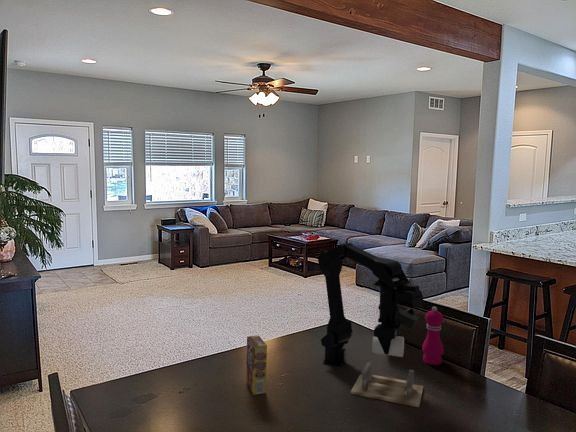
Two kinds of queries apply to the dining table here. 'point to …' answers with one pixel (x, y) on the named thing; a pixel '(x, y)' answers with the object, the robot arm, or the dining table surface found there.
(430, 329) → the pepper mill
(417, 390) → the roll holder
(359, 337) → the dining table surface
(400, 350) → the roll
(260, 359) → the candy box
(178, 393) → the dining table surface
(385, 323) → the robot arm
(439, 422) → the dining table surface
